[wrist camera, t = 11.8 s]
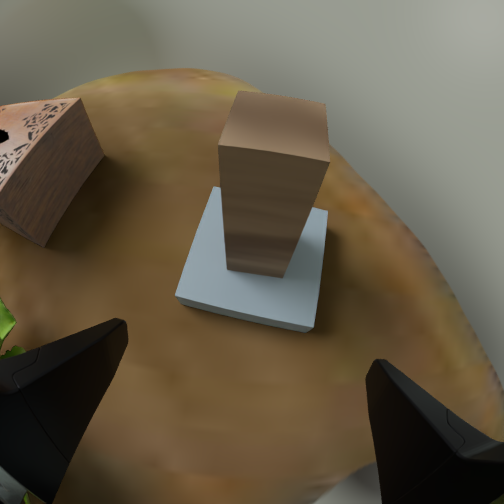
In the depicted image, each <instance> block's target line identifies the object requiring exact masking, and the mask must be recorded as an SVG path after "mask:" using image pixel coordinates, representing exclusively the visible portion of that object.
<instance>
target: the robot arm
mask: <svg viewBox="0 0 504 504" xmlns="http://www.w3.org/2000/svg"><path fill="white" fill-rule="evenodd" d="M127 344H128V331H127V324H126V321H125V320H122V319H118V318H114V319H111V320H109V321H106V322H103V323H101V324H98V325H96V326H93V327H91V328H88V329H85V330H83V331H80V332H78V333H75V334H72V335H70V336H67V337H65V338H62V339H59V340H57V341H54V342H52V343H49V344H46V345H44V346H41V347H38V348H36V349H33V350H30V351H27V352H25V353H22V354H19V355H15V356H12V357H8V358H5V359H1V360H0V504H26V503H25V501H24V496H25V495H26V493H27V491H29V492H30V493H31V494H33V495H34V496H36V497H37V498H38V499H40V500H41V501H43V502H44V503H46V504H52V503H53V500H54V498H55V495H56V493H57V491H58V488H59V486H60V484H61V481H62V479H63V477H64V475H65V472H66V470H67V468H68V466H69V463H70V461H71V459H72V457H73V455H74V453H75V451H76V449H77V447H78V444H79V442H80V440H81V438H82V436H83V434H84V432H85V430H86V428H87V426H88V424H89V422H90V420H91V419H92V417H93V415H94V413H95V411H96V409H97V407H98V405H99V403H100V401H101V400H102V398H103V396H104V394H105V392H106V390H107V388H108V387H109V385H110V383H111V381H112V379H113V377H114V375H115V373H116V371H117V368H118V366H119V363H120V361H121V359H122V356H123V354H124V352H125V349H126V347H127ZM366 391H367V402H368V413H369V420H370V425H371V430H372V436H373V442H374V448H375V454H376V460H377V467H378V474H379V482H380V489H381V497H382V498H381V499H382V504H504V442H499V441H495V440H493V439H491V438H490V437H488V436H487V435H485V434H483V433H482V432H480V431H479V430H477V429H476V428H474V427H473V426H471V425H470V424H468V423H467V422H465V421H464V420H462V419H461V418H460V417H458V416H457V415H456V414H454V413H453V412H452V411H450V410H449V409H447V408H446V407H445V406H444V405H443V404H442V403H440V402H439V401H438V400H436V399H435V398H434V397H433V396H431V395H430V394H429V393H428V392H426V391H425V390H424V389H422V388H421V387H420V386H419V385H417V384H416V383H415V382H414V381H412V380H411V379H410V378H408V377H407V376H406V375H405V374H403V373H402V372H401V371H400V370H398V369H397V368H396V367H395V366H393V365H392V364H391V363H389V362H388V361H387V360H385V359H375V360H374V361H373V363H372V365H371V367H370V369H369V371H368V373H367V375H366Z"/></svg>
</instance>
